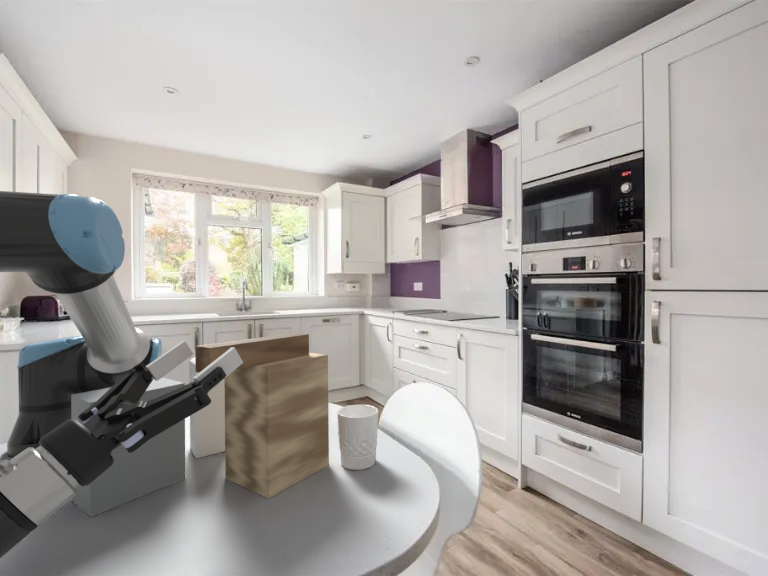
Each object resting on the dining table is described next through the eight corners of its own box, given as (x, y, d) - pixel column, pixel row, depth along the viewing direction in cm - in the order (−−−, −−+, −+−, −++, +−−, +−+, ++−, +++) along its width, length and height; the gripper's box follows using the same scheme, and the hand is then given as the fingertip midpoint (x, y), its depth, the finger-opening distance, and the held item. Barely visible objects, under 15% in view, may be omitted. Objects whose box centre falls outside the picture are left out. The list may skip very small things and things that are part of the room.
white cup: (345, 475, 68) (344, 419, 68) (333, 457, 75) (332, 407, 75) (385, 466, 71) (384, 413, 71) (369, 450, 78) (369, 402, 78)
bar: (195, 371, 58) (195, 345, 58) (294, 353, 74) (294, 332, 74) (210, 375, 56) (209, 347, 56) (309, 355, 72) (308, 334, 72)
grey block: (71, 500, 60) (71, 394, 60) (163, 466, 72) (162, 377, 72) (90, 517, 56) (90, 402, 56) (185, 478, 67) (184, 383, 67)
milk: (195, 459, 75) (194, 348, 75) (190, 448, 80) (188, 345, 80) (227, 450, 79) (226, 345, 79) (220, 441, 84) (218, 342, 84)
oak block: (225, 478, 67) (224, 360, 67) (286, 450, 79) (285, 349, 79) (268, 498, 60) (267, 367, 60) (328, 464, 72) (327, 354, 72)
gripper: (75, 474, 34) (250, 336, 49) (8, 421, 48) (159, 327, 63) (123, 525, 37) (274, 380, 52) (46, 461, 51) (182, 361, 67)
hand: (211, 350), depth 58 cm, fingers open, 13 cm apart
